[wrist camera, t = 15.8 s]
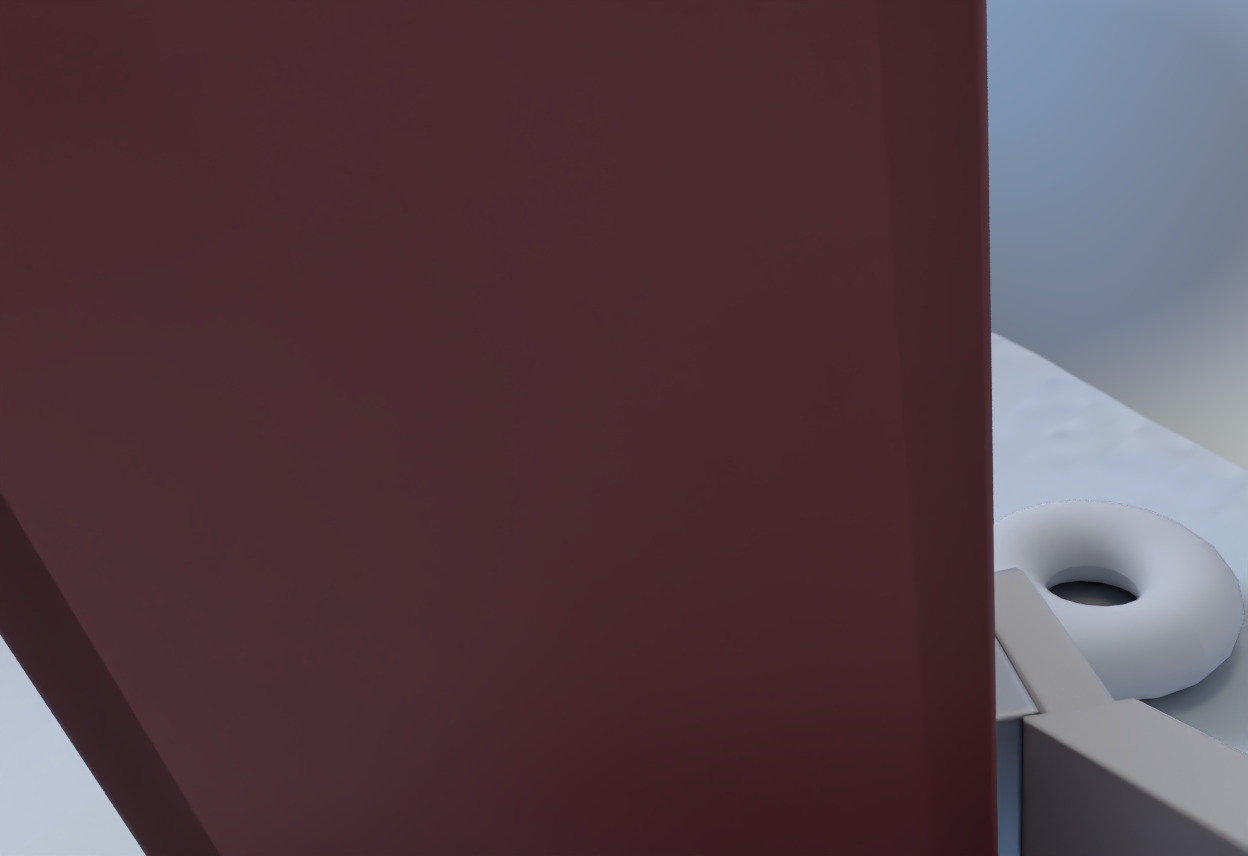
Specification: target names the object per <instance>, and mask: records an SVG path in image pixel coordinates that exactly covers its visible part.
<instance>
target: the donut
mask: <svg viewBox="0 0 1248 856" xmlns="http://www.w3.org/2000/svg"><path fill="white" fill-rule="evenodd" d="M1014 567H1016V568H1018V569H1020V570H1022V571H1023V572H1025V573H1026V574H1027V575H1028V577H1029V578H1030V579H1031V581H1032V582H1033V584H1034V585H1035V587H1036V588H1037V590H1038V591H1039V592H1040V594H1041V595H1042V597H1043V598H1044V600H1045V601H1046V603H1047V604H1048V605H1049V607H1050V608H1051V610H1052V611H1053V613H1054V614H1055V615H1056V617H1057V618H1058V620H1059V621H1060V623H1061V624H1062V626H1063V627H1064V628H1065V630H1066V631H1067V633H1068V634H1069V636H1070V637H1071V639H1072V640H1073V641H1074V643H1075V644H1076V646H1077V647H1078V649H1079V650H1080V651H1081V653H1082V654H1083V656H1084V657H1085V659H1086V660H1087V662H1088V663H1089V664H1090V666H1091V667H1092V669H1093V670H1094V672H1095V673H1096V674H1097V676H1098V677H1099V679H1100V680H1101V682H1102V683H1103V685H1104V686H1105V687H1106V689H1107V690H1108V692H1109V693H1110V695H1111V696H1112V698H1113V699H1114V700H1115V701H1117V700H1123V699H1129V698H1135V699H1137V700H1138V699H1149V698H1160V697H1163V696H1165V695H1168V694H1171V693H1174V692H1176V691H1179V690H1182V689H1185V688H1187V687H1190V686H1193V685H1196V684H1197V683H1199V682H1200V681H1201V680H1202V679H1204V678H1205V677H1206V676H1207V675H1208V674H1210V673H1211V672H1212V671H1213V670H1214V669H1216V668H1217V667H1218V666H1219V665H1220V664H1222V663H1223V662H1224V661H1225V660H1226V659H1227V658H1229V657H1230V655H1231V653H1232V650H1233V648H1234V645H1235V643H1236V640H1237V638H1238V635H1239V633H1240V630H1241V628H1242V625H1243V622H1244V620H1245V617H1244V607H1243V602H1242V597H1241V592H1240V587H1239V582H1238V579H1237V577H1236V576H1235V574H1234V573H1233V571H1232V570H1231V568H1230V567H1229V566H1228V564H1227V563H1226V562H1225V560H1224V559H1223V558H1222V556H1221V555H1220V554H1219V552H1218V551H1217V550H1216V548H1215V547H1214V546H1213V545H1211V544H1210V543H1208V542H1207V541H1205V540H1204V539H1203V538H1201V537H1200V536H1198V535H1197V534H1195V533H1194V532H1193V531H1191V530H1190V529H1188V528H1187V527H1185V526H1184V525H1182V524H1181V523H1179V522H1177V521H1174V520H1172V519H1169V518H1167V517H1164V516H1162V515H1160V514H1157V513H1155V512H1152V511H1150V510H1147V509H1143V508H1139V507H1134V506H1129V505H1125V504H1120V503H1115V502H1110V501H1089V500H1069V501H1061V502H1053V503H1044V504H1039V505H1036V506H1033V507H1030V508H1027V509H1024V510H1021V511H1018V512H1015V513H1012V514H1010V515H1008V516H1006V517H1004V518H1002V519H1001V520H999V521H998V522H996V523H995V524H994V572H995V571H1000V570H1005V569H1010V568H1014ZM1074 581H1091V582H1101V583H1105V584H1109V585H1113V586H1117V587H1120V588H1122V589H1124V590H1126V591H1128V592H1130V593H1132V594H1133V595H1134V596H1136V597H1137V598H1138V599H1137V600H1136V601H1133V602H1130V603H1127V604H1124V605H1115V606H1093V605H1082V604H1079V603H1075V602H1072V601H1068V600H1064V599H1062V598H1060V597H1058V596H1056V595H1054V594H1052V593H1051V592H1050V591H1049V590H1048V589H1049V588H1051V587H1052V586H1054V585H1057V584H1060V583H1065V582H1074Z"/></svg>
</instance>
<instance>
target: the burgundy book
mask: <svg viewBox="0 0 1248 856" xmlns="http://www.w3.org/2000/svg"><path fill="white" fill-rule="evenodd" d="M987 88H988V87H987V15H986V0H0V635H1V636H2V638H3V639H4V641H5V642H6V644H7V645H8V647H9V648H10V650H11V651H12V653H13V654H14V656H15V657H16V659H17V661H18V662H19V664H20V665H21V667H22V668H23V670H24V671H25V673H26V674H27V676H28V677H29V679H30V680H31V682H32V683H33V685H34V686H35V688H36V689H37V691H38V692H39V694H40V695H41V697H42V698H43V700H44V701H45V703H46V704H47V706H48V707H49V709H50V710H51V712H52V714H53V715H54V717H55V718H56V720H57V721H58V723H59V724H60V726H61V727H62V729H63V730H64V732H65V733H66V735H67V736H68V738H69V739H70V741H71V742H72V744H73V745H74V747H75V748H76V750H77V751H78V753H79V754H80V756H81V757H82V759H83V760H84V762H85V763H86V765H87V767H88V768H89V770H90V771H91V773H92V774H93V776H94V777H95V779H96V780H97V782H98V783H99V785H100V786H101V788H102V789H103V791H104V792H105V794H106V795H107V797H108V798H109V800H110V801H111V803H112V804H113V806H114V807H115V809H116V810H117V812H118V813H119V815H120V816H121V818H122V820H123V821H124V823H125V824H126V826H127V827H128V829H129V830H130V832H131V833H132V835H133V836H134V838H135V839H136V841H137V842H138V844H139V845H140V847H141V848H142V850H143V851H144V853H145V854H146V856H998V806H997V734H996V662H995V590H994V518H993V446H992V374H991V304H990V234H989V233H990V230H989V160H988V89H987Z"/></svg>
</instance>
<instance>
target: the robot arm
mask: <svg viewBox="0 0 1248 856" xmlns="http://www.w3.org/2000/svg"><path fill="white" fill-rule="evenodd" d="M994 590H995V662H996V734H997V806H998V856H1248V755H1246V754H1244V753H1242V752H1240V751H1238V750H1236V749H1234V748H1232V747H1230V746H1228V745H1226V744H1225V743H1223V742H1221V741H1219V740H1217V739H1215V738H1213V737H1211V736H1209V735H1207V734H1205V733H1203V732H1201V731H1199V730H1197V729H1195V728H1193V727H1191V726H1189V725H1187V724H1185V723H1183V722H1181V721H1179V720H1177V719H1175V718H1173V717H1171V716H1169V715H1167V714H1165V713H1163V712H1161V711H1159V710H1157V709H1155V708H1153V707H1151V706H1149V705H1147V704H1145V703H1143V702H1141V701H1139V700H1137V699H1135V698H1129V699H1123V700H1117V701H1115V700H1114V699H1113V698H1112V696H1111V695H1110V693H1109V692H1108V690H1107V689H1106V687H1105V686H1104V685H1103V683H1102V682H1101V680H1100V679H1099V677H1098V676H1097V674H1096V673H1095V672H1094V670H1093V669H1092V667H1091V666H1090V664H1089V663H1088V662H1087V660H1086V659H1085V657H1084V656H1083V654H1082V653H1081V651H1080V650H1079V649H1078V647H1077V646H1076V644H1075V643H1074V641H1073V640H1072V639H1071V637H1070V636H1069V634H1068V633H1067V631H1066V630H1065V628H1064V627H1063V626H1062V624H1061V623H1060V621H1059V620H1058V618H1057V617H1056V615H1055V614H1054V613H1053V611H1052V610H1051V608H1050V607H1049V605H1048V604H1047V603H1046V601H1045V600H1044V598H1043V597H1042V595H1041V594H1040V592H1039V591H1038V590H1037V588H1036V587H1035V585H1034V584H1033V582H1032V581H1031V579H1030V578H1029V577H1028V575H1027V574H1026V573H1025V572H1023V571H1022V570H1020V569H1018V568H1016V567H1014V568H1010V569H1005V570H1000V571H995V572H994Z"/></svg>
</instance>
